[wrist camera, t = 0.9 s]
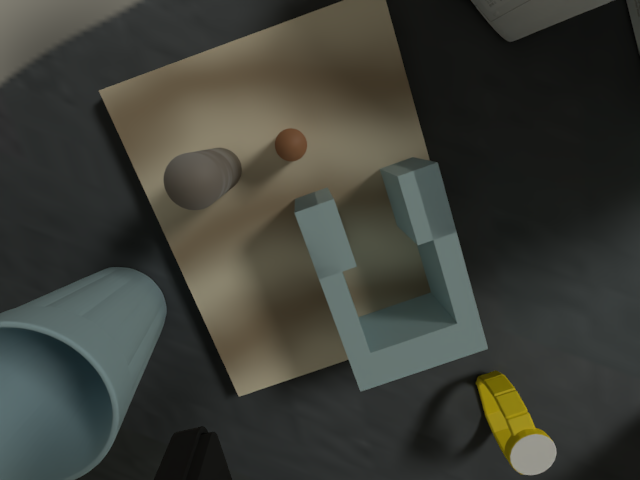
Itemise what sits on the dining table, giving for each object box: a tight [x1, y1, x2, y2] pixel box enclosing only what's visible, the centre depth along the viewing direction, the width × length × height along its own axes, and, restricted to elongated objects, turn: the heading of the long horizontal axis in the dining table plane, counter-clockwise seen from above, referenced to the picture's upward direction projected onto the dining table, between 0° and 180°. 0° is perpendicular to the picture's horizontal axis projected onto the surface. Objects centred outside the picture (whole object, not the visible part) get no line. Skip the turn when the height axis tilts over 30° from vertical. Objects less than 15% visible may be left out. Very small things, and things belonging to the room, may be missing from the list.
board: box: [99, 0, 431, 397], centre depth 22 cm, size 20×16×8 cm
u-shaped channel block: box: [294, 157, 488, 392], centre depth 24 cm, size 10×7×4 cm
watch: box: [476, 371, 556, 475], centre depth 27 cm, size 6×3×6 cm, turn 19°
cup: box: [0, 267, 167, 480], centre depth 22 cm, size 8×8×10 cm
